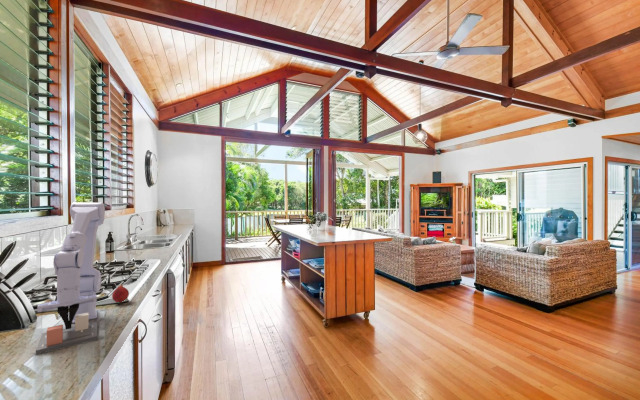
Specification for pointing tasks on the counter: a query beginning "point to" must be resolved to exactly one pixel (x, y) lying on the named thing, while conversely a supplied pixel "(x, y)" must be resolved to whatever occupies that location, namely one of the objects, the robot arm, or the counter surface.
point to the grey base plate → (69, 338)
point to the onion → (120, 294)
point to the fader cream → (81, 321)
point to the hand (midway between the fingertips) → (68, 327)
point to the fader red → (54, 335)
